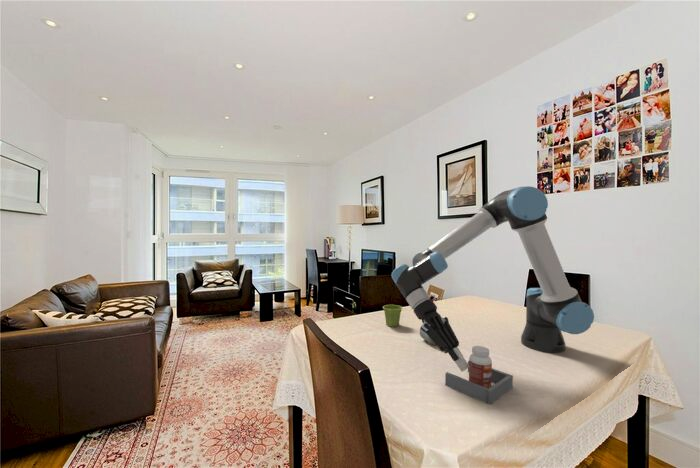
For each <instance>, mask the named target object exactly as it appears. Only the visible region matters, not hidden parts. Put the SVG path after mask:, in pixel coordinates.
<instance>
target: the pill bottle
mask: <svg viewBox="0 0 700 468" xmlns="http://www.w3.org/2000/svg"><path fill="white" fill-rule="evenodd" d="M471 352H472V353H471V354H470V355H469V359H468V361H469V372H468V381H470V382H473V383H475V384H478V385H480V386H483V387H485V388H488V389H489V388H490V387H492V381H491V374H492V365H493V363H492V362H493V361H492V358H491V357H490V349H489V348H487V347H485V346H483V345H481V346H480V345H474V346H472V348H471Z"/></svg>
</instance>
